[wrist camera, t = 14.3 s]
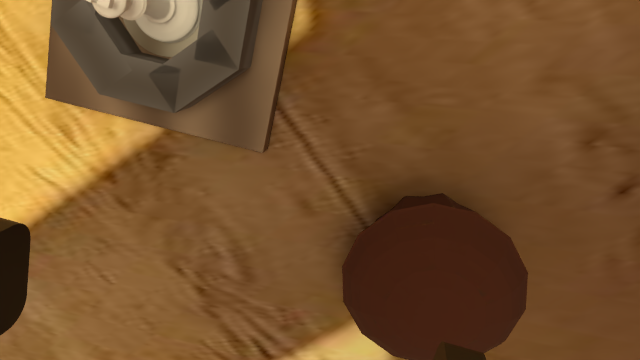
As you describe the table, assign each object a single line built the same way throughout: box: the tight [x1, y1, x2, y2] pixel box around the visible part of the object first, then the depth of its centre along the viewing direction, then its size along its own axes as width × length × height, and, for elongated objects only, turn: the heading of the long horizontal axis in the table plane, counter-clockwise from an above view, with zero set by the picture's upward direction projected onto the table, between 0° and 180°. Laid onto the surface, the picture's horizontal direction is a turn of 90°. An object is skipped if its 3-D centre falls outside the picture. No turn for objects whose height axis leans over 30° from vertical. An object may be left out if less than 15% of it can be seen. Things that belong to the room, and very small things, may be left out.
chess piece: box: [86, 0, 202, 43], centre depth 32 cm, size 5×5×10 cm
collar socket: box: [45, 0, 297, 153], centre depth 36 cm, size 17×17×4 cm
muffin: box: [342, 193, 528, 360], centre depth 36 cm, size 12×11×10 cm
